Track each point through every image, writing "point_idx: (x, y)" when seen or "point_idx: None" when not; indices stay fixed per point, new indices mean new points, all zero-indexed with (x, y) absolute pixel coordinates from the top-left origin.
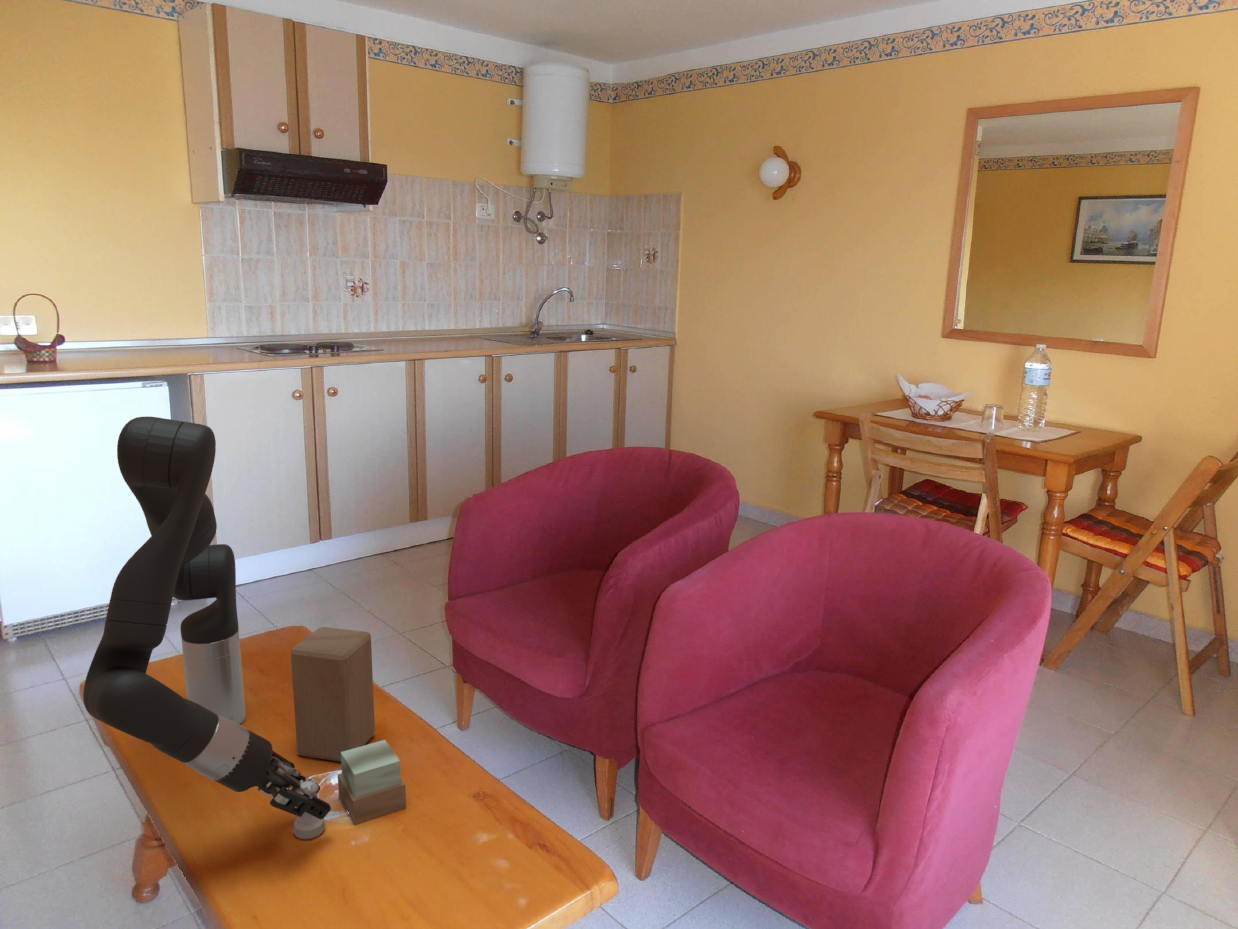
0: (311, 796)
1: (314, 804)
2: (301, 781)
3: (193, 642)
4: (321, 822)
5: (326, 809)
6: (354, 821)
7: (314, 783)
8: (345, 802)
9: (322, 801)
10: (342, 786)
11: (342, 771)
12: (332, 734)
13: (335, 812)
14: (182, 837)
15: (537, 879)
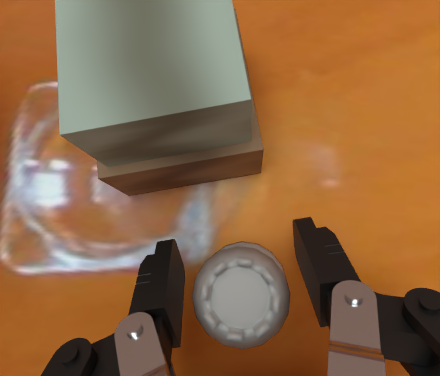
0: (360, 289)
1: (355, 276)
2: (216, 321)
3: None
4: (266, 251)
5: (332, 232)
6: (260, 169)
7: (250, 263)
8: (184, 179)
9: (315, 242)
10: (152, 173)
11: (109, 159)
12: None
13: (188, 210)
14: None
15: None
